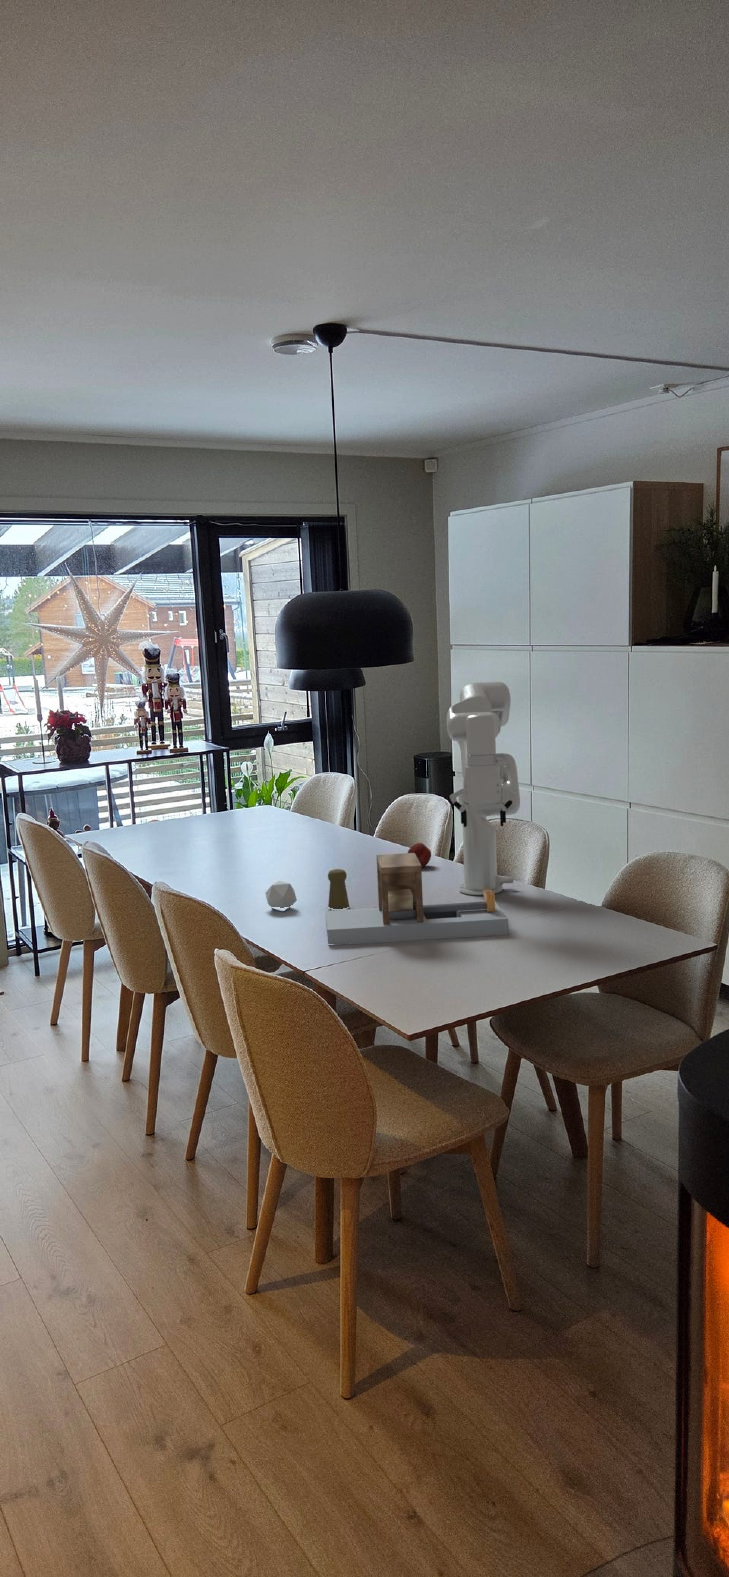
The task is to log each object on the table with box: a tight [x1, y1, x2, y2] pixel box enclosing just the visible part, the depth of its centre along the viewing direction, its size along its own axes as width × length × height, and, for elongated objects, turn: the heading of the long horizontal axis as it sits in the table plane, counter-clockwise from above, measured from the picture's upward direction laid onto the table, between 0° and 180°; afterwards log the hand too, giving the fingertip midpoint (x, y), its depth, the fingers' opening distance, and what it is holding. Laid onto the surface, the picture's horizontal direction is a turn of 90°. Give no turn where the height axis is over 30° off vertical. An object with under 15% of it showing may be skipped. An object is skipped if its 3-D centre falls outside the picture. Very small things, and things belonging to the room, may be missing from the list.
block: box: [388, 889, 413, 911], centre depth 265 cm, size 6×6×6 cm
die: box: [265, 880, 298, 908], centre depth 292 cm, size 8×9×10 cm
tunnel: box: [376, 852, 424, 925], centre depth 265 cm, size 10×15×14 cm, turn 4°
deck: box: [325, 900, 509, 945], centre depth 266 cm, size 45×18×4 cm, turn 94°
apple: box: [407, 842, 432, 868], centre depth 337 cm, size 7×8×8 cm
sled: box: [381, 889, 496, 920], centre depth 266 cm, size 28×9×4 cm, turn 94°
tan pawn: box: [327, 868, 350, 909], centre depth 291 cm, size 6×6×11 cm
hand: (483, 826), depth 274 cm, fingers open, 9 cm apart
